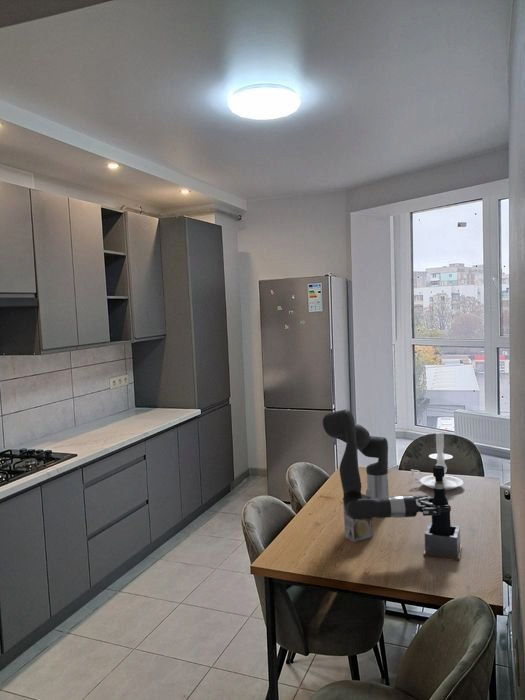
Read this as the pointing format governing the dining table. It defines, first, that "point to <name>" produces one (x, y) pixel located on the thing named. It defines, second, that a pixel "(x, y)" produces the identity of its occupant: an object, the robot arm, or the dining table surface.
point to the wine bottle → (443, 520)
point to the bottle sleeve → (443, 544)
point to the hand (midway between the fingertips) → (446, 504)
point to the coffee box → (357, 526)
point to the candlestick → (448, 481)
